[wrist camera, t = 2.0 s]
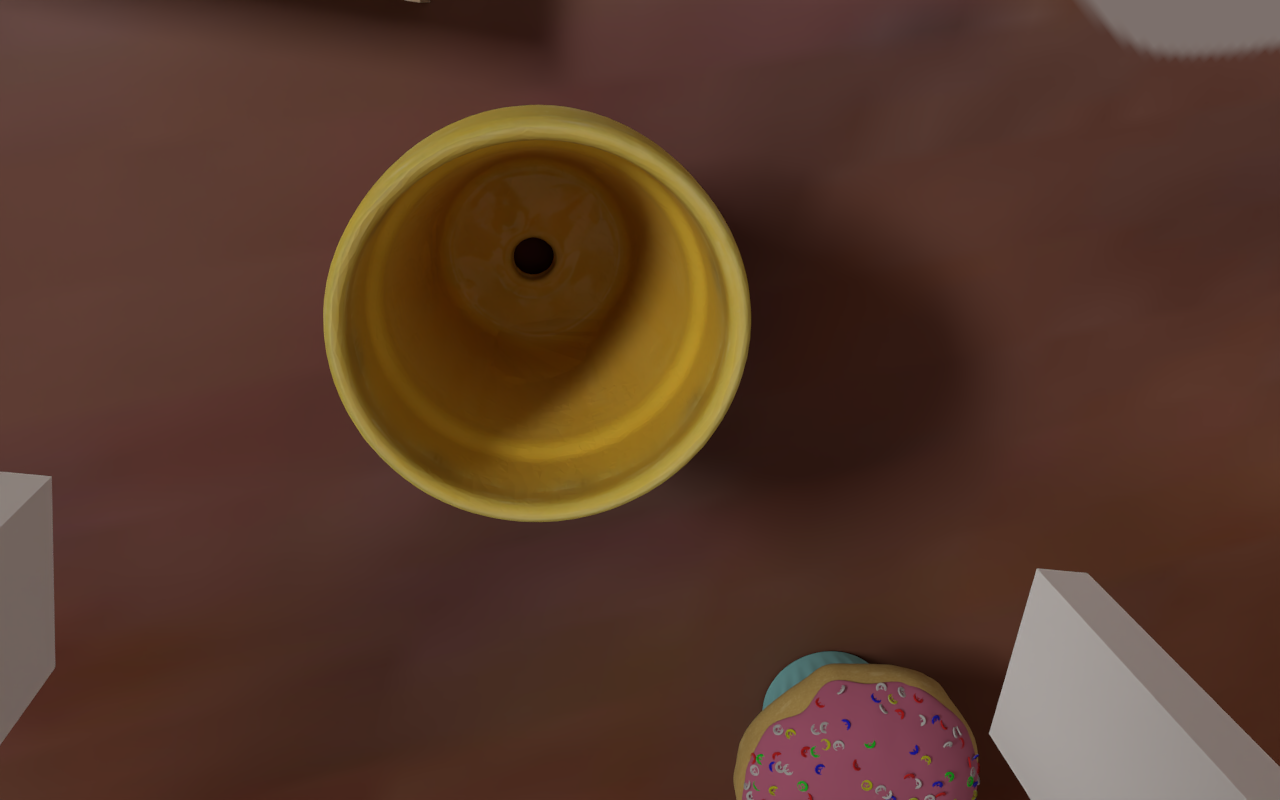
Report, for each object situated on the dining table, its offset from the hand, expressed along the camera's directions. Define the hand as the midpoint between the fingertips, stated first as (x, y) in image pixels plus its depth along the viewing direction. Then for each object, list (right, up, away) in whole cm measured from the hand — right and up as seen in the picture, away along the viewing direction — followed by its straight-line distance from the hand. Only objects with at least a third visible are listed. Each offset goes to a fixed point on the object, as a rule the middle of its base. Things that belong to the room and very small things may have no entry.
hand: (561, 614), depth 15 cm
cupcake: (+8, -9, +28) cm, 31 cm away
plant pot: (-2, +8, +21) cm, 23 cm away
